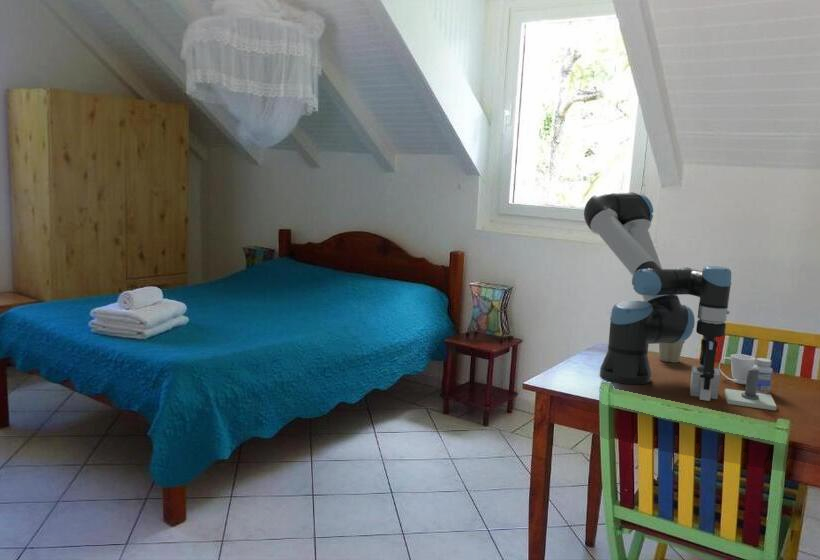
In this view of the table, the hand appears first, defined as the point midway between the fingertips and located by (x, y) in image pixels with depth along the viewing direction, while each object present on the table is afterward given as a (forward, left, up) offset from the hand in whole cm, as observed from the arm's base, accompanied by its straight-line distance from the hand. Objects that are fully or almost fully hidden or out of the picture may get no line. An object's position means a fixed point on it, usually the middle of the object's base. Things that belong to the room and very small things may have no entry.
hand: (703, 393), depth 196 cm
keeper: (+12, -1, 0) cm, 12 cm away
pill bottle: (+16, +11, 0) cm, 19 cm away
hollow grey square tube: (0, 0, 0) cm, 0 cm away
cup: (+10, +19, 0) cm, 22 cm away
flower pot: (-9, +35, 0) cm, 36 cm away
